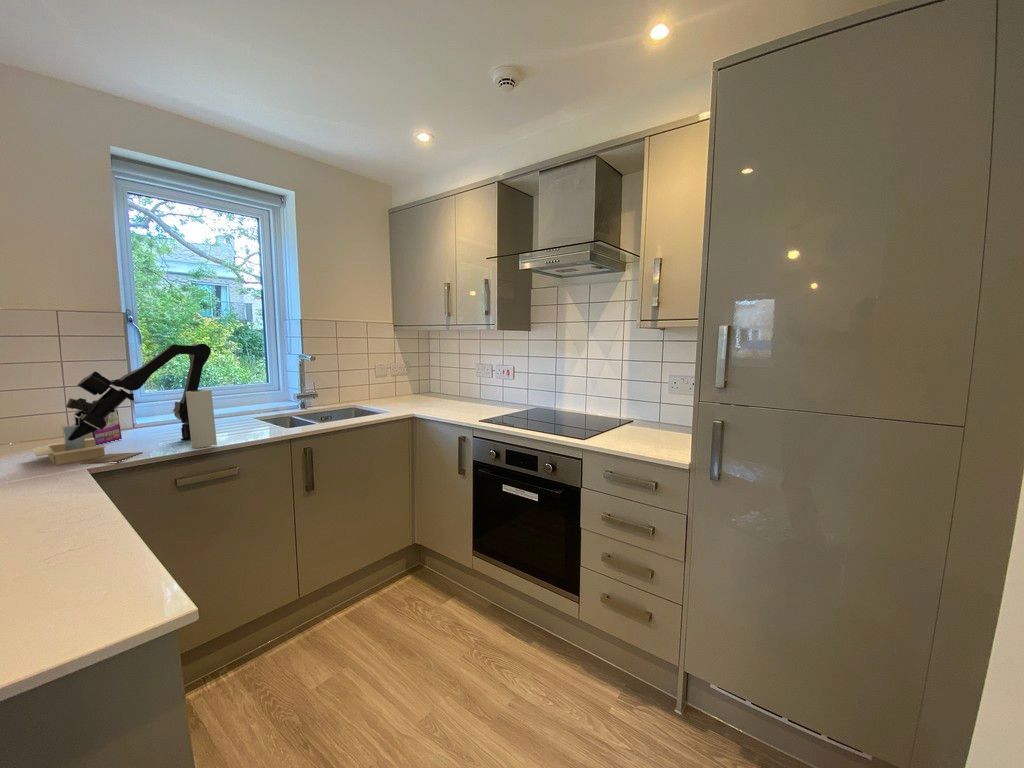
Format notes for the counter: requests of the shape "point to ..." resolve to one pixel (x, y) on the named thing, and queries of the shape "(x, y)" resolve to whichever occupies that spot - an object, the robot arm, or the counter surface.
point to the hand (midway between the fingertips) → (68, 439)
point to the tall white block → (201, 418)
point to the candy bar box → (107, 430)
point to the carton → (70, 452)
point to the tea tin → (75, 443)
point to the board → (111, 458)
